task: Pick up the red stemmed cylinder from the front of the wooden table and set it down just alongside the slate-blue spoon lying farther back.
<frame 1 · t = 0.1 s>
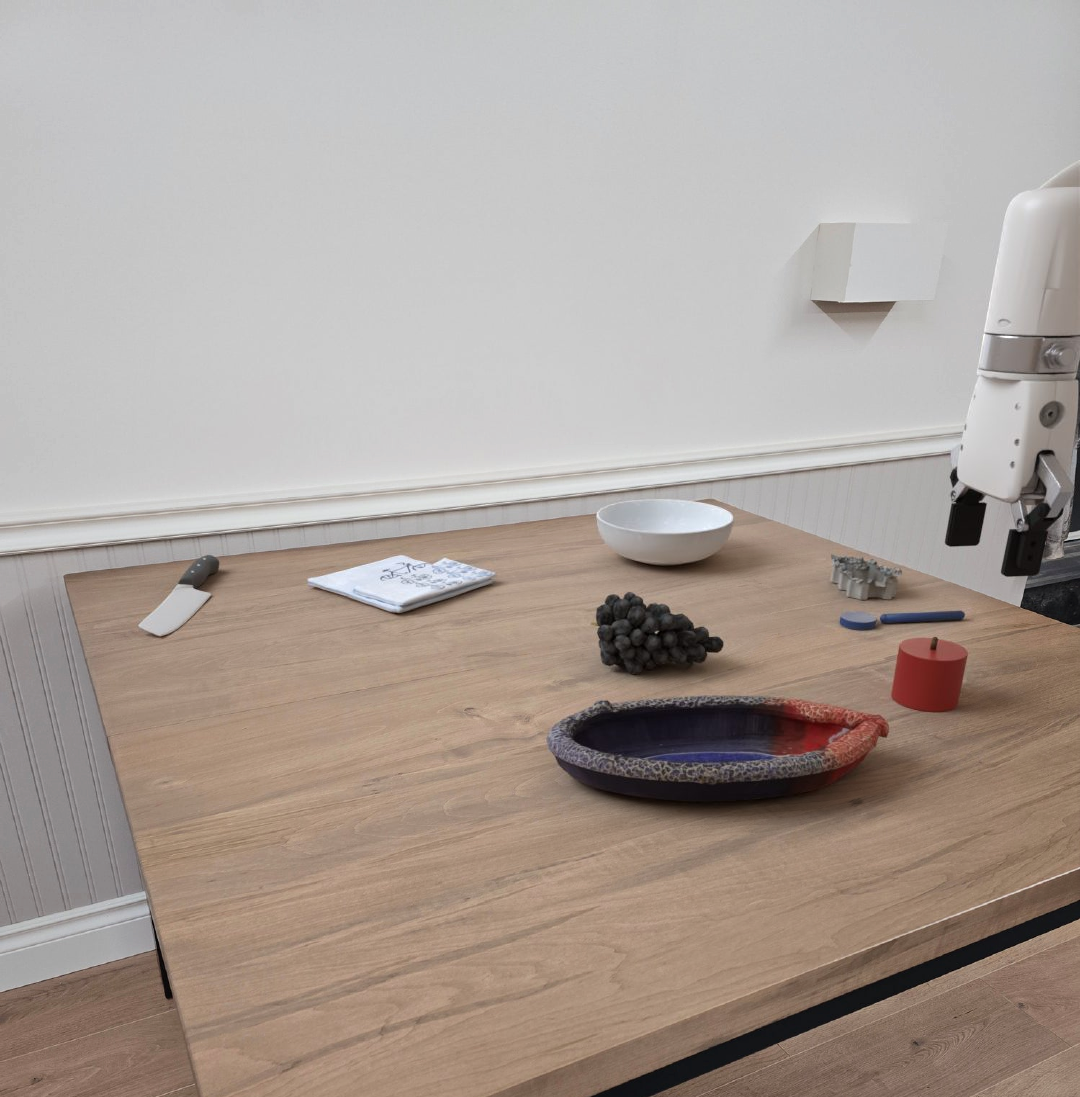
hand: (988, 559, 87), 17 cm above the table, tool pointing down, fingers open, 9 cm apart
kitchen knife: (189, 602, 132), on the table
serving bowl: (662, 559, 150), on the table
fruit: (655, 669, 109), on the table
dish: (716, 773, 87), on the table
egg carton: (861, 590, 135), on the table
red stemmed cylinder: (924, 698, 101), on the table
folded tea towel: (402, 586, 138), on the table
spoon: (899, 622, 123), on the table
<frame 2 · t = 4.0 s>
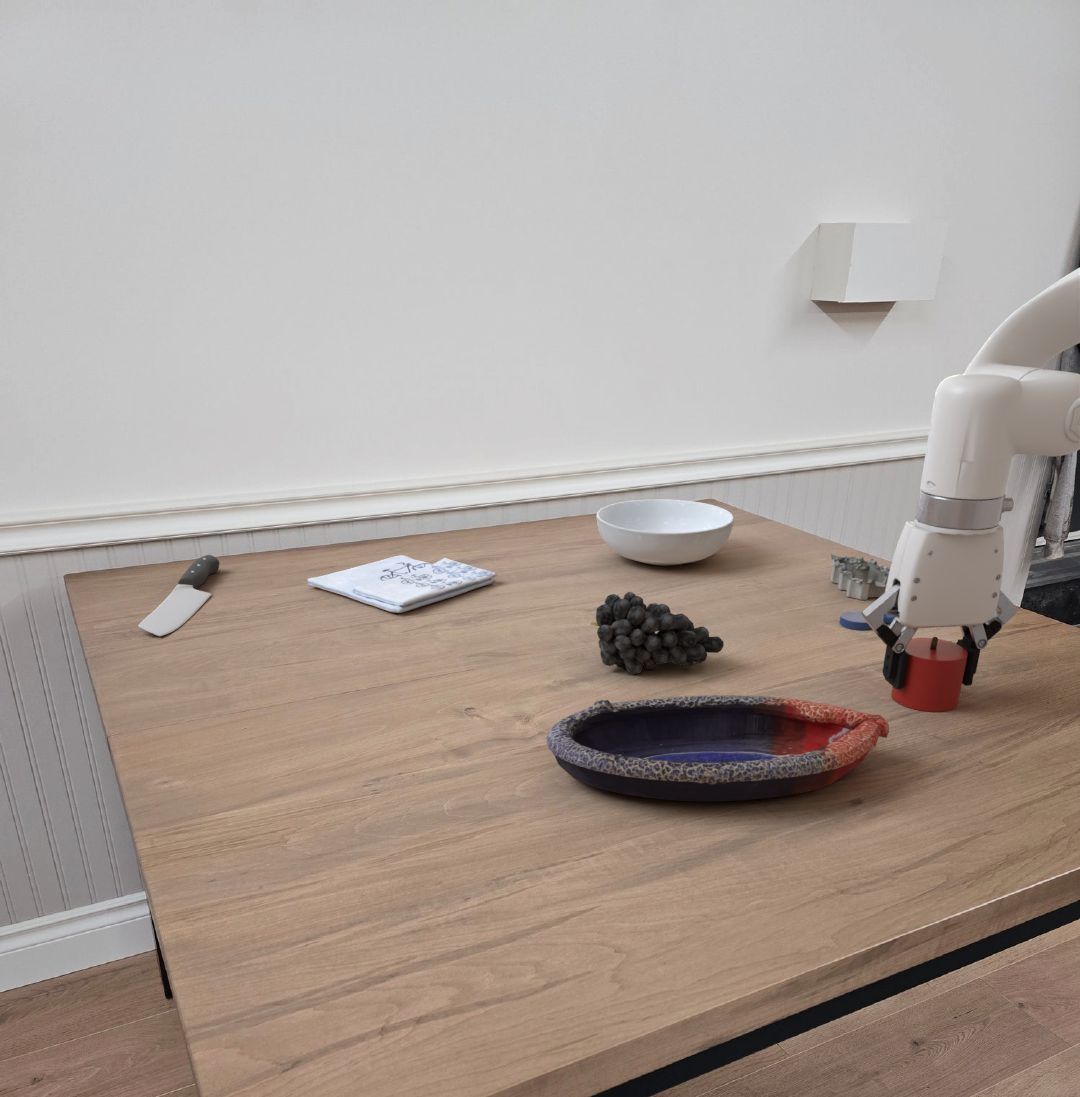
hand: (927, 681, 100), 2 cm above the table, tool pointing down, fingers closed on red stemmed cylinder, 6 cm apart
red stemmed cylinder: (924, 698, 101), on the table, touching gripper
everything else where it was.
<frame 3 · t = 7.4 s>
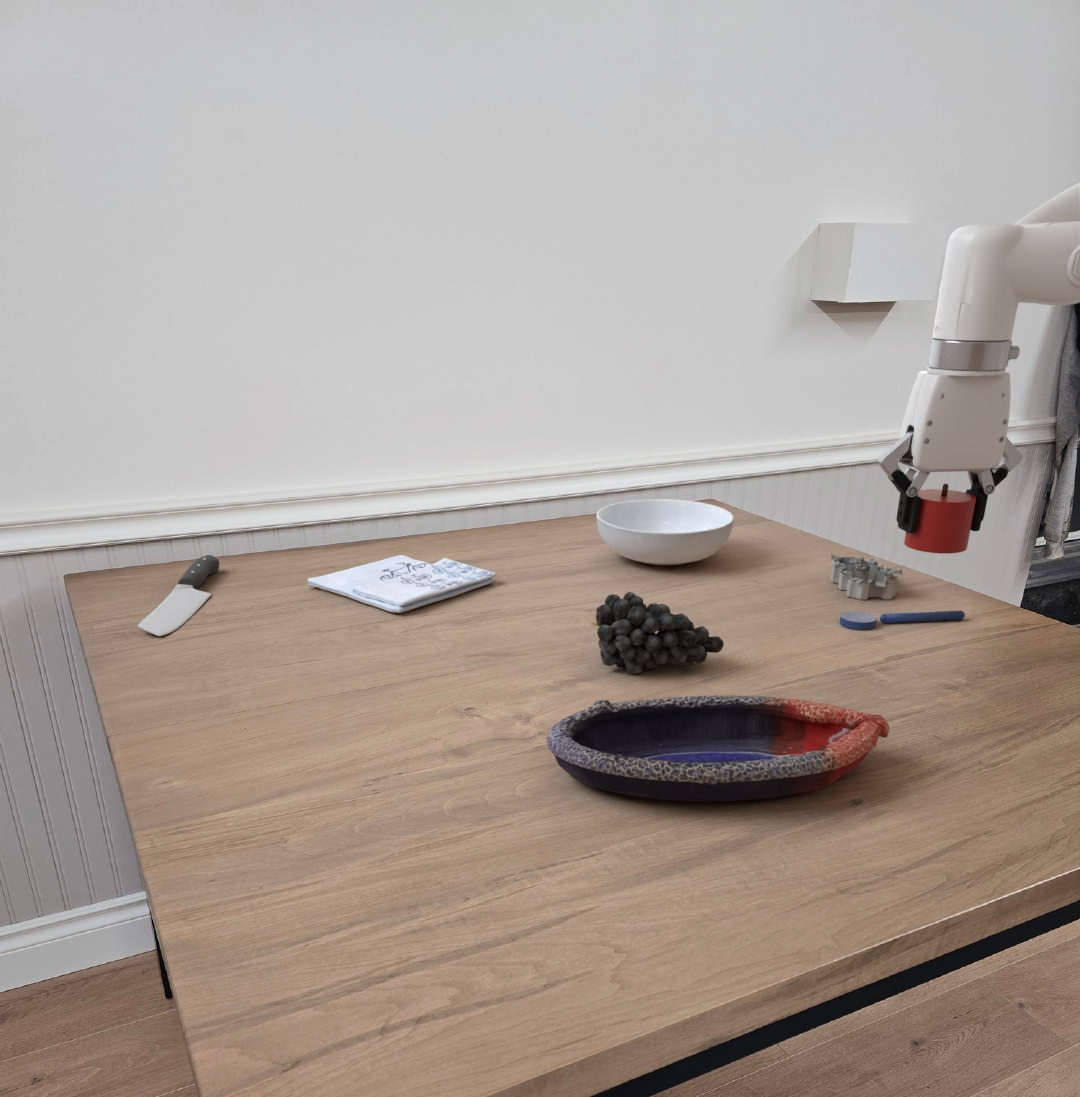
hand: (938, 528, 107), 15 cm above the table, tool pointing down, fingers closed on red stemmed cylinder, 6 cm apart
red stemmed cylinder: (935, 545, 108), point 13 cm above the table, touching gripper
everything else where it was.
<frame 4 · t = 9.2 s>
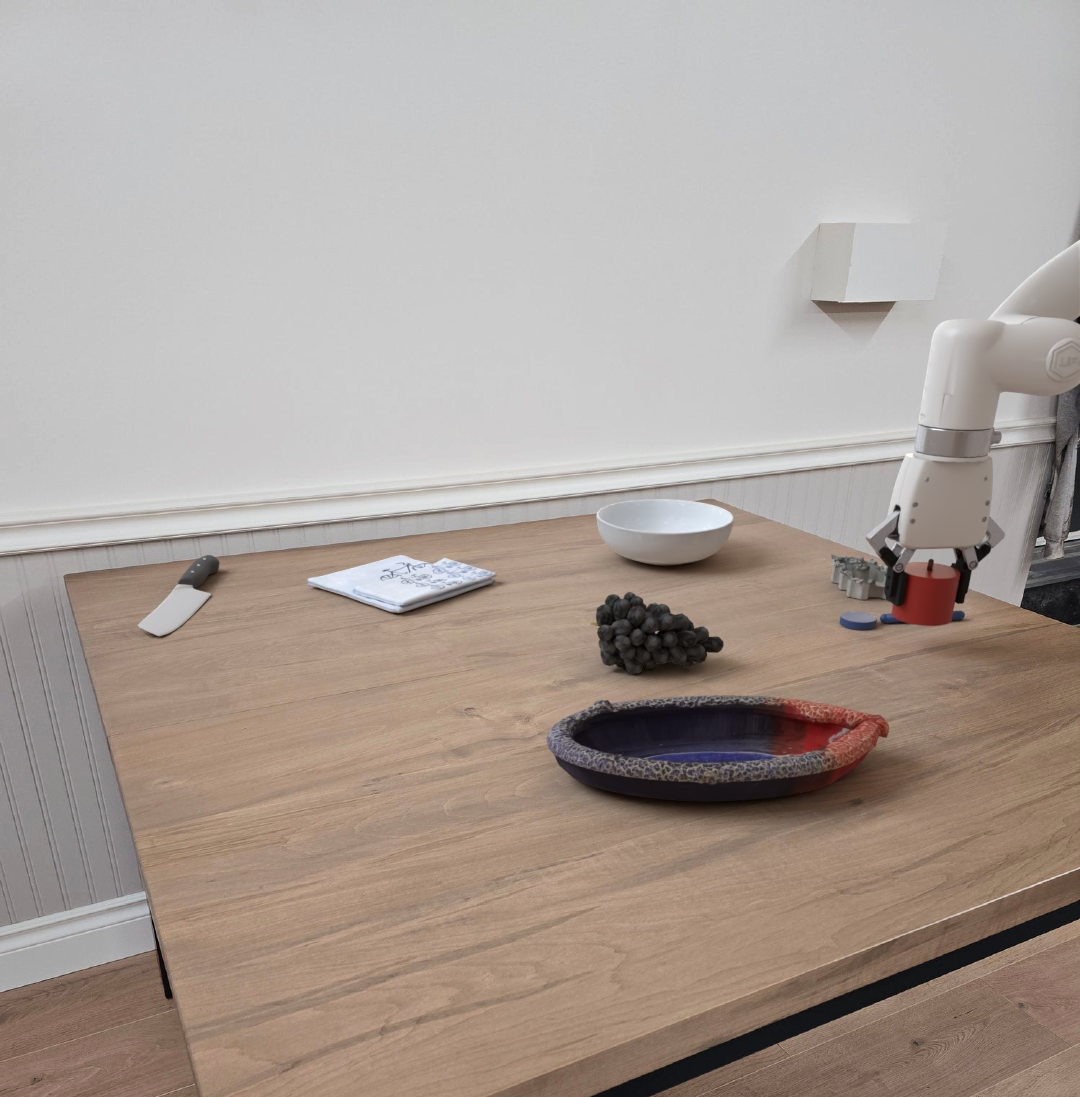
hand: (924, 600, 112), 6 cm above the table, tool pointing down, fingers closed on red stemmed cylinder, 6 cm apart
red stemmed cylinder: (921, 616, 113), point 4 cm above the table, touching gripper
everything else where it was.
when the fingers open (2 cm above the table, at t = 10.8 s): red stemmed cylinder stays where it is, on the table.
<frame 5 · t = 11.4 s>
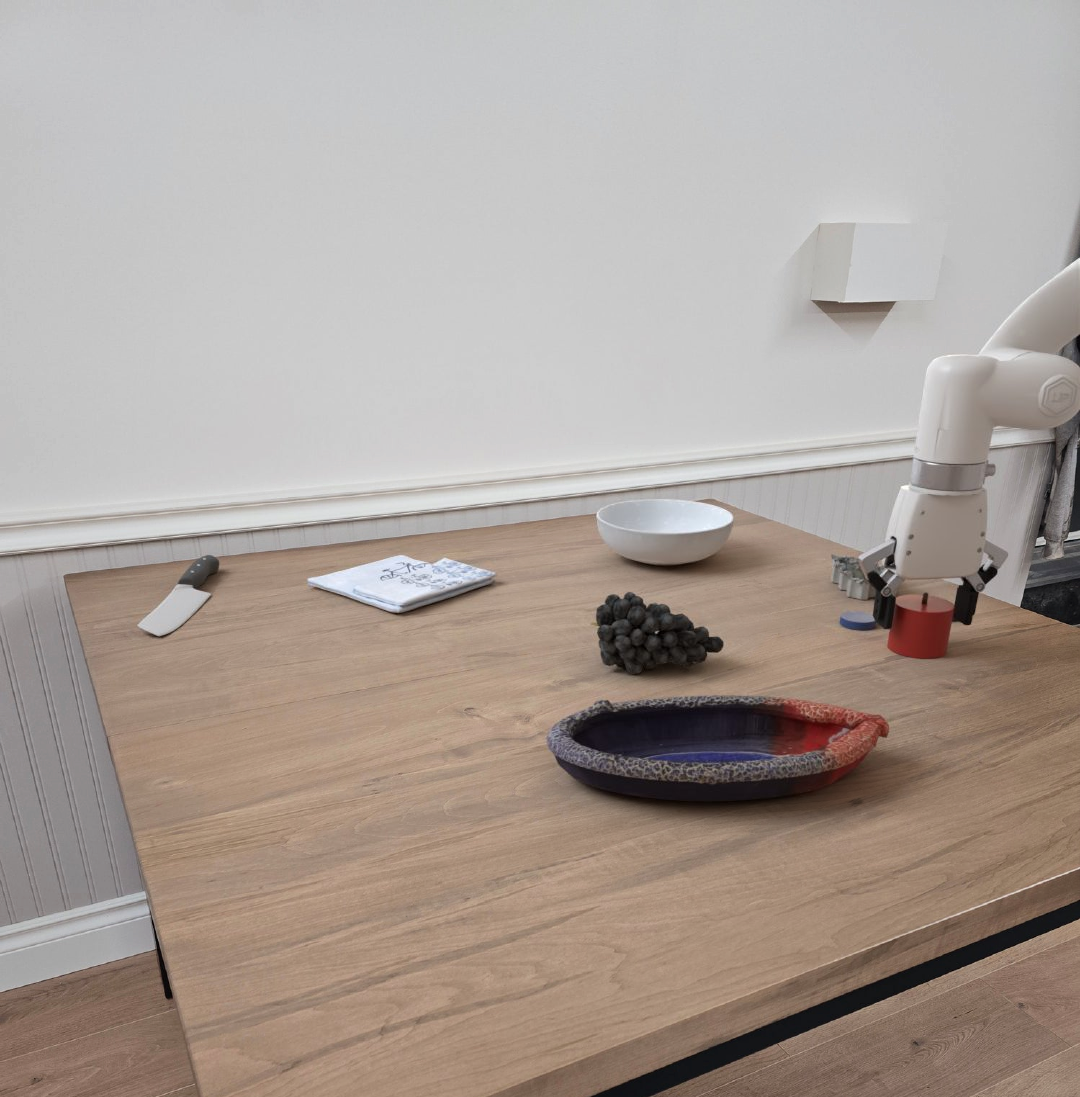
hand: (922, 623, 113), 3 cm above the table, tool pointing down, fingers open, 9 cm apart
red stemmed cylinder: (916, 648, 114), on the table
everything else where it was.
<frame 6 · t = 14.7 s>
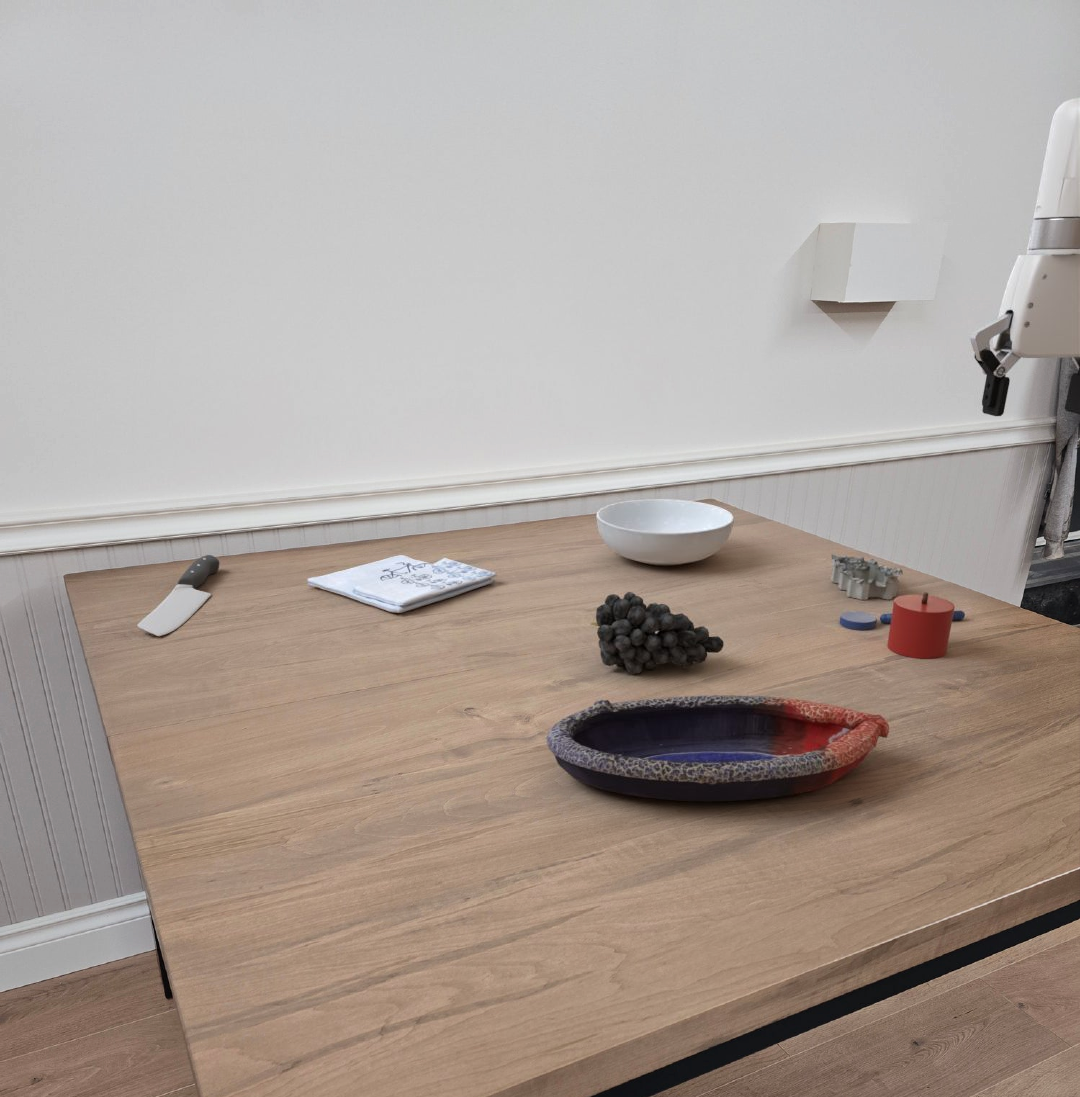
hand: (1034, 413, 106), 26 cm above the table, tool pointing down, fingers open, 9 cm apart
nothing on the table moved.
at the end: red stemmed cylinder inside the target area on the table beside the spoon (1.1 cm from its centre), on the table; red stemmed cylinder tilted 0°; the gripper is holding nothing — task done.
